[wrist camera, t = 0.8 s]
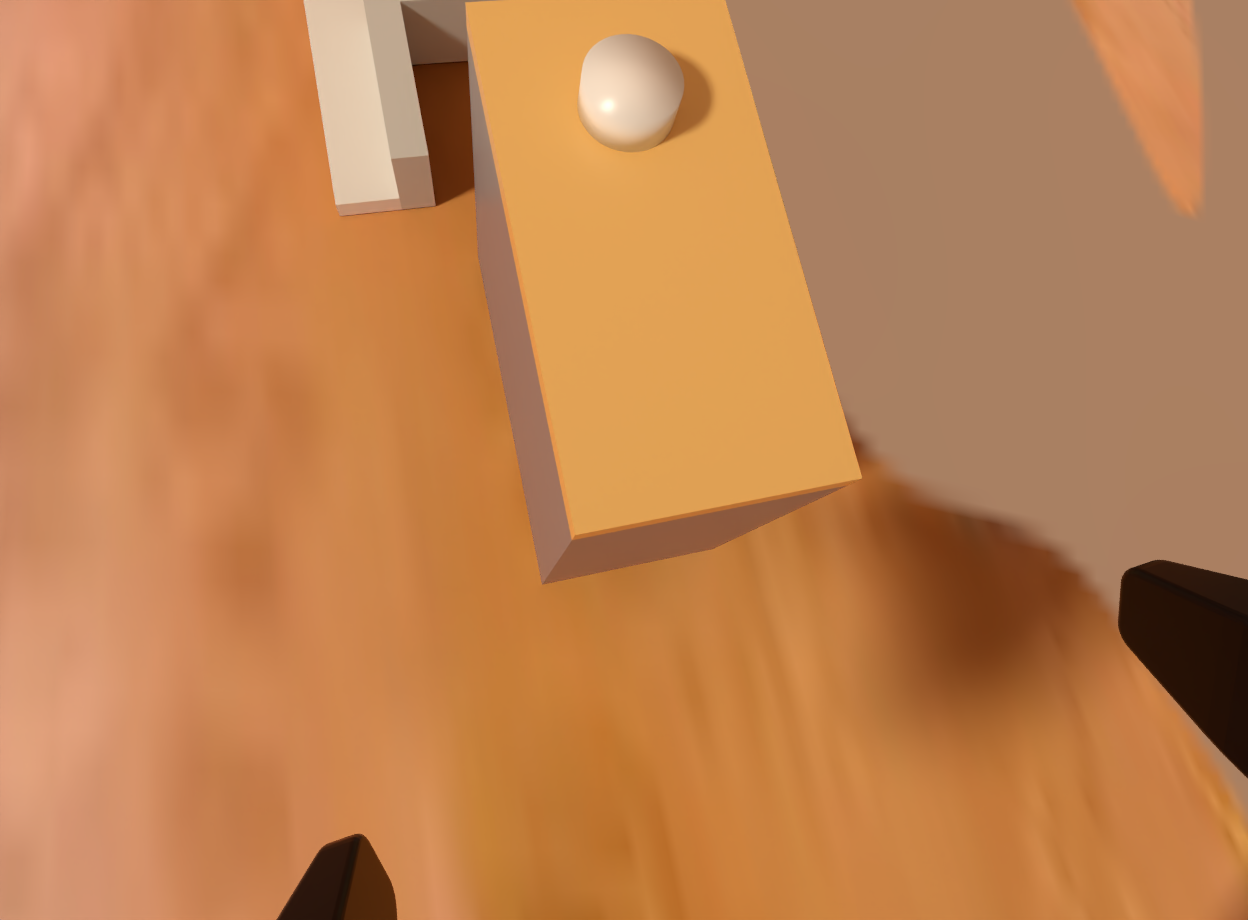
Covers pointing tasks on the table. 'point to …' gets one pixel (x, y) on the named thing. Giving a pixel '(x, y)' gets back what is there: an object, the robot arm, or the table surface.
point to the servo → (642, 283)
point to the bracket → (379, 94)
